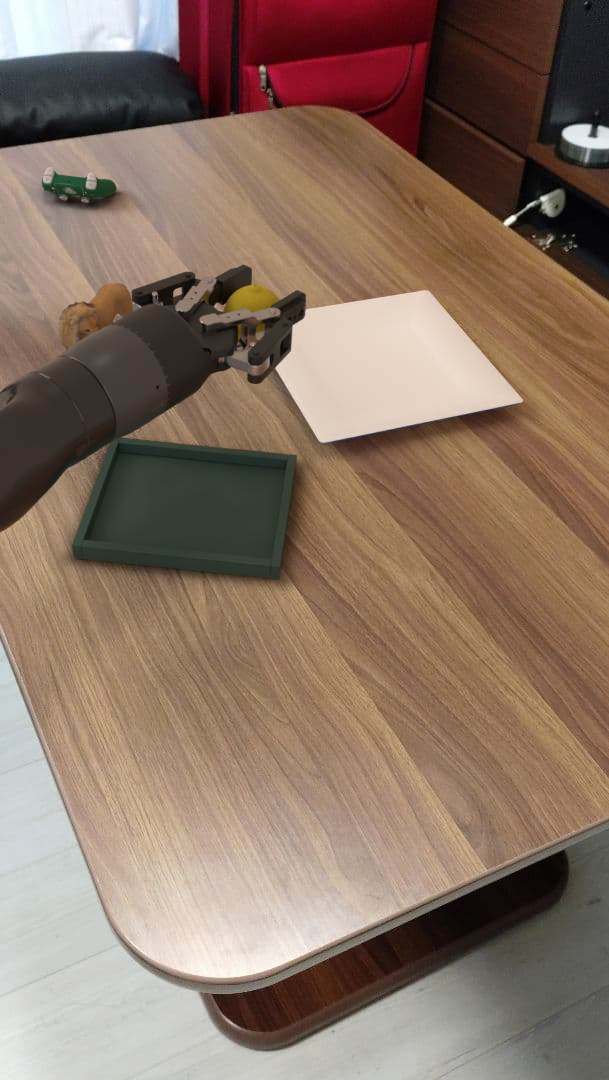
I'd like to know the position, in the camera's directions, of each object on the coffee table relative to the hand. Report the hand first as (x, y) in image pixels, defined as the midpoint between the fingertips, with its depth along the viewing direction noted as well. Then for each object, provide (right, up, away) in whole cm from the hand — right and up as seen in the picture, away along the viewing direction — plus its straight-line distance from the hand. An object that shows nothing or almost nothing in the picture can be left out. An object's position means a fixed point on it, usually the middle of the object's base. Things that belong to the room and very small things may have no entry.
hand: (274, 288), depth 82 cm
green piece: (-27, +24, +47) cm, 59 cm away
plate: (+10, -3, +23) cm, 25 cm away
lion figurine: (-19, -2, +22) cm, 29 cm away
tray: (-8, -18, +6) cm, 21 cm away
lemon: (-2, -6, +3) cm, 7 cm away
